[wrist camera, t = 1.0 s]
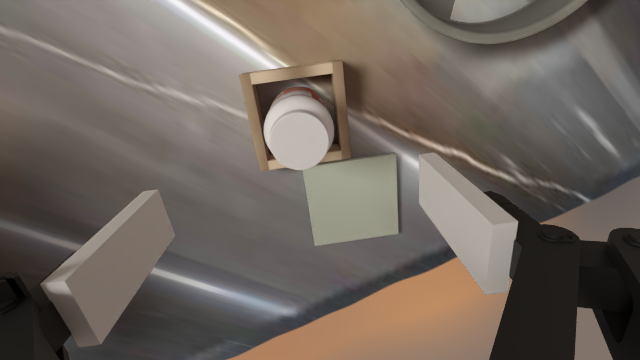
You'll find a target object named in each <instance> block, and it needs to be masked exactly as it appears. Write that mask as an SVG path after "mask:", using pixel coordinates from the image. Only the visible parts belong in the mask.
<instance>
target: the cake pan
mask: <svg viewBox="0 0 640 360" xmlns="http://www.w3.org/2000/svg"><path fill="white" fill-rule="evenodd" d="M400 1H402V3H403V4H404V5H405V7H406V8H408V9H409V10H410V12H411V13H412V14H413V15H414V16H415V17H417V18H418V19H419V20H420V21H421V22H423V23H424V24H425V25H427V26H428V27H430V28H431V29H433V30H435V31H436V32H439V33H440V34H443V35H445V36H448V37H450V38H453V39H456V40H460V41H464V42H468V43H476V44H496V43H498V44H499V43H506V42H511V41H516V40H519V39H523V38H526V37H529V36H531V35H534V34H536V33H539V32H541V31H543V30H545V29H547V28H549V27H551V26H553V25H554V24H556V23H558V22H559V21H561V20H563V19H564V18H566V17H567V16H569V15H570V14H572V13H573V12H574V11H576V10H577V9H578V8H580V7H581V6H582V5H583V4H584V3H585V2H587V1H588V0H533V1H532V2H530V3H529V4H527V5H526V6H524V7H523V8H521V9H519V10H517V11H516V12H514V13H512V14H509V15H506V16H504V17H501V18H498V19H495V20H492V21H487V22H479V23H466V22H458V21H453V20H450V16H451V13H452V9H453V5H454V1H455V0H400Z"/></svg>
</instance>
